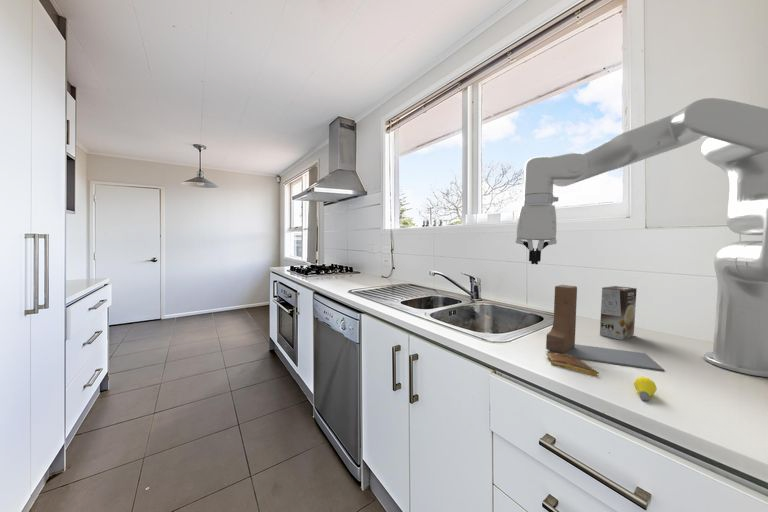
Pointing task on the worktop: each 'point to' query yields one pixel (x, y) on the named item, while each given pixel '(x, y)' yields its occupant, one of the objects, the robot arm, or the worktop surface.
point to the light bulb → (645, 387)
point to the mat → (613, 356)
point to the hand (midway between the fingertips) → (534, 263)
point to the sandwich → (570, 363)
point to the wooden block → (563, 320)
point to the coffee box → (618, 312)
